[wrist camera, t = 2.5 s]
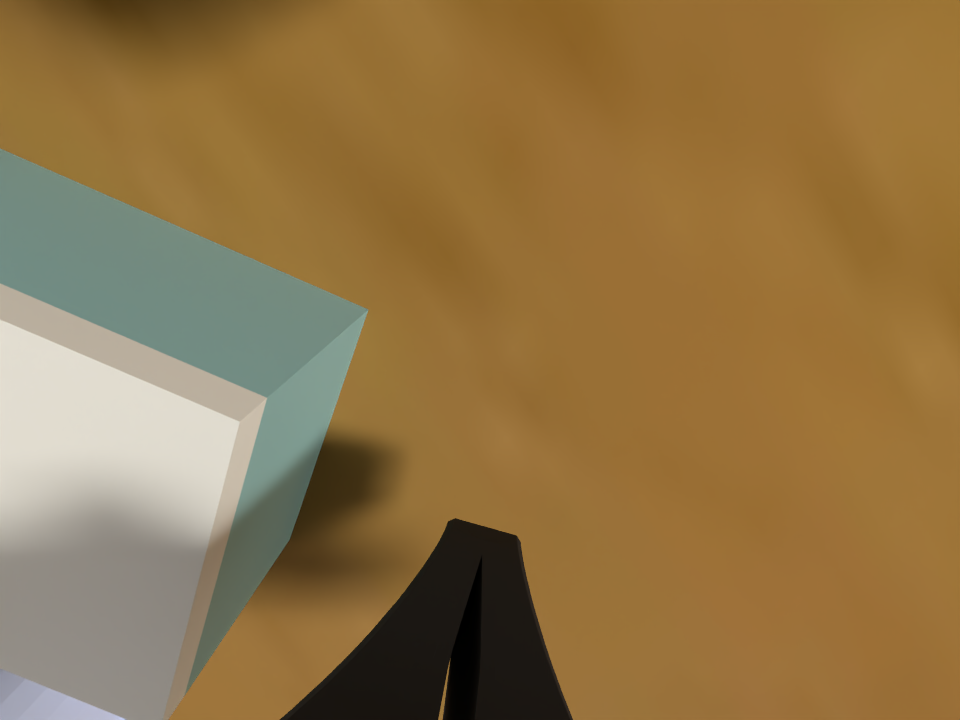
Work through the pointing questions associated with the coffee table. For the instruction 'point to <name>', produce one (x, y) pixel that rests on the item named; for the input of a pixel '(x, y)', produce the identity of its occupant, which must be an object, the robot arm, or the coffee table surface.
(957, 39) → the coffee table surface
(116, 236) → the carton
